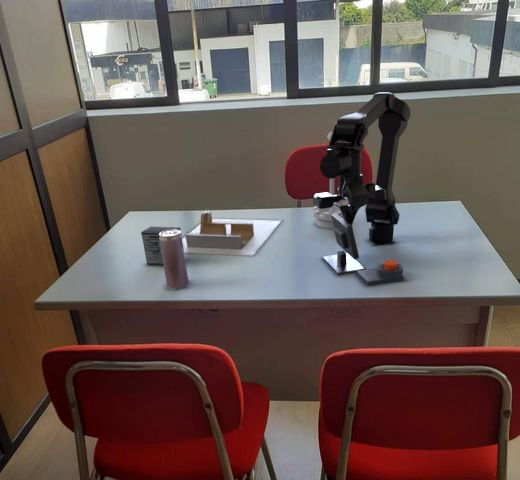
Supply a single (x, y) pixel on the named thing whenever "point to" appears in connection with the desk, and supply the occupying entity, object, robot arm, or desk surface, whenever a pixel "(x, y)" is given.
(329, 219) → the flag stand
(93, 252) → the desk surface
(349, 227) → the screen
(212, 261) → the desk surface
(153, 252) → the small box
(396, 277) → the console
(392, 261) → the power button
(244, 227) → the walled white board
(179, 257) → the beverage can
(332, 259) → the monitor stand
